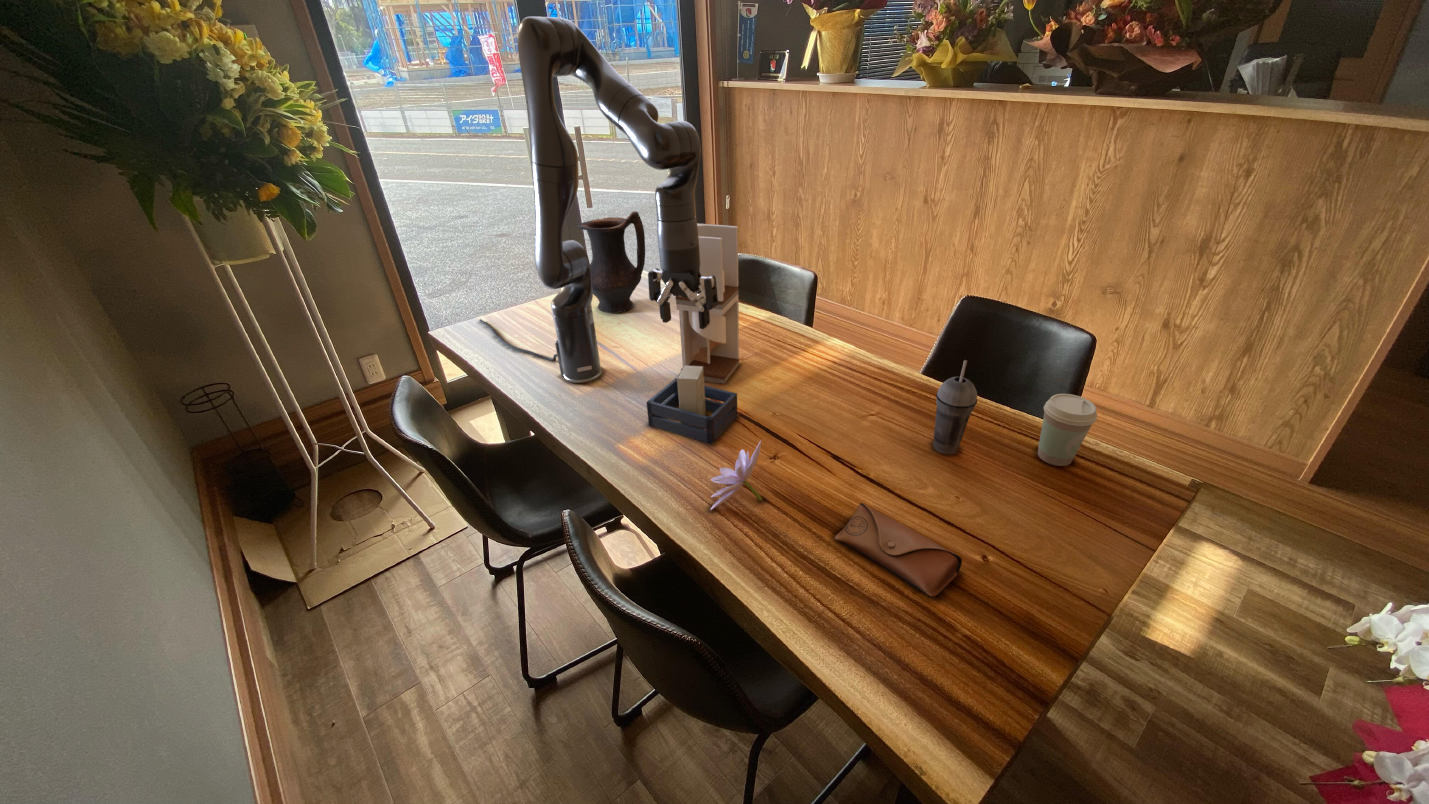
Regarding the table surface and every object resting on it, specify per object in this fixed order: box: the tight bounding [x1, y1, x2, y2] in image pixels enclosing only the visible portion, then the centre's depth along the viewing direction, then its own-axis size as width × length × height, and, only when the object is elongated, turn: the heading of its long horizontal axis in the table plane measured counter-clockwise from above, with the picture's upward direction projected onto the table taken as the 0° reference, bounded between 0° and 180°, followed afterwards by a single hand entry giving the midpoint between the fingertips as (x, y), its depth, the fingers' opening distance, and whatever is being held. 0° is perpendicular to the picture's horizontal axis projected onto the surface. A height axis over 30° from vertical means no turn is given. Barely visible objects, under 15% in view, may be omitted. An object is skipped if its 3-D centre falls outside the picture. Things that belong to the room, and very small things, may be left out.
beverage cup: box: [932, 359, 978, 455], centre depth 108 cm, size 7×7×20 cm
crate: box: [646, 377, 738, 445], centre depth 123 cm, size 16×12×6 cm
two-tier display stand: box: [675, 223, 740, 385], centre depth 135 cm, size 11×11×35 cm
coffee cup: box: [1037, 393, 1098, 467], centre depth 107 cm, size 8×9×12 cm
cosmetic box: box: [676, 365, 707, 429], centre depth 121 cm, size 6×4×12 cm
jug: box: [577, 211, 646, 314], centre depth 174 cm, size 21×18×30 cm
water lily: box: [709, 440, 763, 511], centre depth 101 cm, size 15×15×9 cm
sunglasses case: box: [834, 502, 963, 598], centre depth 89 cm, size 18×7×7 cm
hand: (685, 324), depth 113 cm, fingers open, 8 cm apart
